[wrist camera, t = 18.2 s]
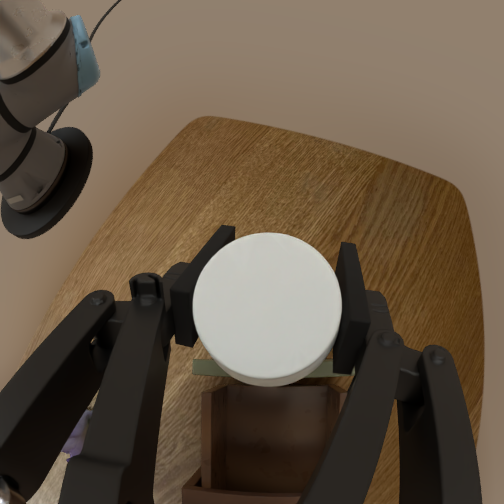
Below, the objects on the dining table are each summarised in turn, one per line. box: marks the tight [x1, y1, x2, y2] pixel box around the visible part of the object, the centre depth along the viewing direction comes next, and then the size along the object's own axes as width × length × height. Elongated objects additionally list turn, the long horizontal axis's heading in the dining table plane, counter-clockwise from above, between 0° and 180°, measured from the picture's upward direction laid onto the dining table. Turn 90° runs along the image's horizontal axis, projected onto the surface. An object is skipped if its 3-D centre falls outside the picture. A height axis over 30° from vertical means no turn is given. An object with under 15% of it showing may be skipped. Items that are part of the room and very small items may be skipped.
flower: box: [61, 409, 93, 462], centre depth 26 cm, size 9×9×10 cm
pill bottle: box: [193, 233, 342, 387], centre depth 14 cm, size 6×6×10 cm
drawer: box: [192, 359, 355, 493], centre depth 23 cm, size 21×12×8 cm, turn 179°
